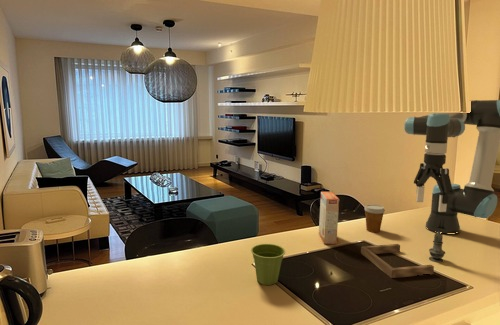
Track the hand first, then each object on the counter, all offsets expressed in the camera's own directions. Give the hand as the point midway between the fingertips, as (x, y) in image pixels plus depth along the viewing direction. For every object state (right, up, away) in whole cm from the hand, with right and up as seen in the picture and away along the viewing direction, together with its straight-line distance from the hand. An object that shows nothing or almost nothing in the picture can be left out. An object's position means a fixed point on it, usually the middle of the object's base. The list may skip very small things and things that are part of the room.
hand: (430, 206), depth 143 cm
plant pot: (-65, -24, -17) cm, 72 cm away
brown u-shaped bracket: (-14, -22, -2) cm, 26 cm away
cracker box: (-36, -18, +23) cm, 46 cm away
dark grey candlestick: (+3, -22, +2) cm, 22 cm away
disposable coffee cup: (-11, -16, +35) cm, 40 cm away
